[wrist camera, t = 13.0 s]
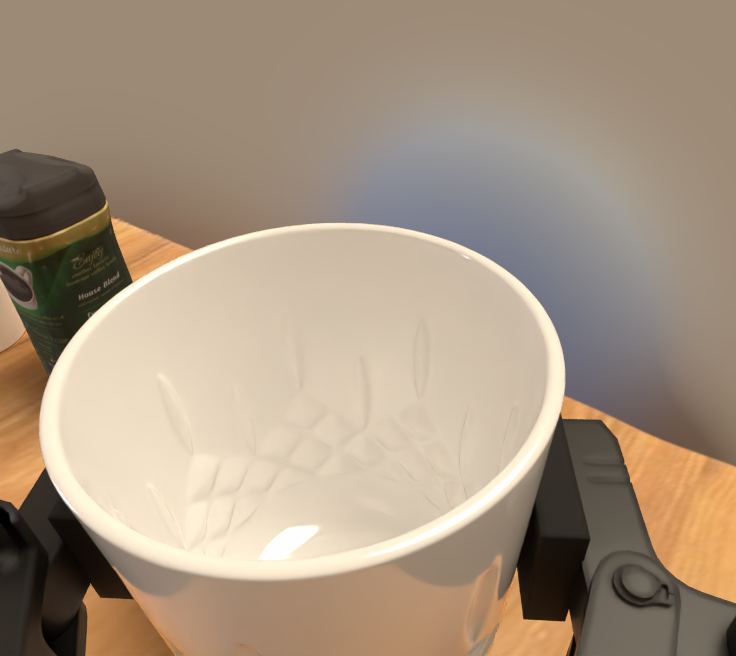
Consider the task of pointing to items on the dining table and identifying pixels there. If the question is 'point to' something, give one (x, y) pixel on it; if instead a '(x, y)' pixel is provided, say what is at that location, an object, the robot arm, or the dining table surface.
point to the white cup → (311, 441)
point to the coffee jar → (56, 248)
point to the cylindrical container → (8, 321)
